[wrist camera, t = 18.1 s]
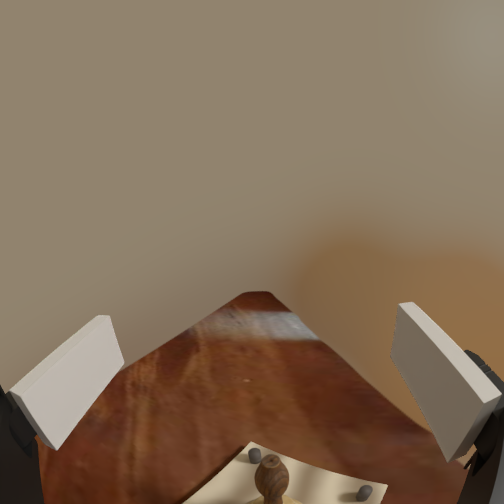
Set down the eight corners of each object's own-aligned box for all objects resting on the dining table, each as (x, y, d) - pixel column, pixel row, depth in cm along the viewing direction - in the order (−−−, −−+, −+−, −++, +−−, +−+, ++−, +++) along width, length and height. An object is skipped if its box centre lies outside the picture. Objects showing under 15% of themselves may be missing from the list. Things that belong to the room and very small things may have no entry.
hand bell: (317, 499, 21) (333, 421, 17) (304, 554, 13) (321, 513, 9) (247, 491, 23) (229, 411, 19) (225, 543, 15) (186, 490, 12)
